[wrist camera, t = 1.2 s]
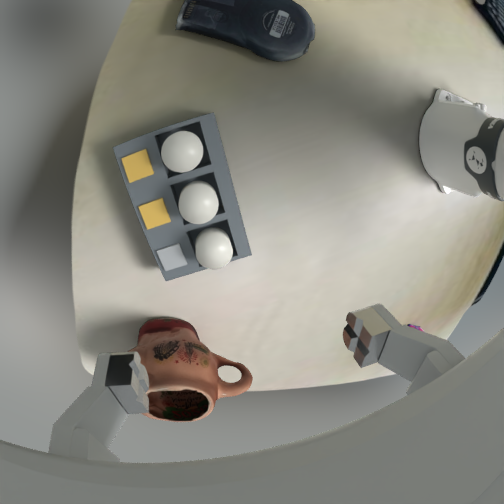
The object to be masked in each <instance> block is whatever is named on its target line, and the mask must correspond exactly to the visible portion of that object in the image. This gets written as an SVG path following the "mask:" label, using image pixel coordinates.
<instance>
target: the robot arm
mask: <svg viewBox="0 0 504 504" xmlns="http://www.w3.org/2000/svg"><path fill="white" fill-rule="evenodd" d="M419 146H420V154H421V159H422V162H423V165H424V167H425V169H426V171H427V173H428V174H429V175H430V176H431V177H432V178H433V179H434V180H435V181H437V183H438V185H439V187H440V189H441V191H442V192H443V193H446V194H449V193H450V192H452V191H453V190H456V191H459V192H462V193H465V194H467V195H470V196H473V197H478V196H479V195H481V194H482V193H484V194H486V195H489V196H490V197H491V198H494V199H497V200H500V201H504V119H500V118H494V117H492V116H490V115H489V114H488V113H486V105H484V104H481V103H471V102H469V101H467V100H465V99H463V98H461V97H459V96H457V95H454V94H452V93H450V92H448V91H445V90H442V89H438V90H437V91H436V94H435V97H434V101H433V103H432V105H431V106H430V107H429V108H428V110H427V111H426V113H425V115H424V117H423V120H422V123H421V127H420V135H419ZM346 321H347V323H348V324H347V325H346V327H345V328H344V331H343V339H344V343H345V345H346V347H347V348H348V350H351V351H353V352H354V356H353V357H354V358H355V360H356V361H357V363H358V364H359V366H360V367H361V368H362V367H365V366H368V365H371V364H373V363H376V362H378V363H379V364H381V365H382V366H384V367H386V368H388V369H389V370H391V371H393V372H395V373H396V374H398V375H400V376H402V377H404V378H405V379H407V380H409V381H411V384H410V386H409V387H408V389H407V392H406V393H407V394H408V395H407V396H405V397H404V398H402V399H400V400H398V401H396V402H394V403H392V404H390V405H388V406H386V407H384V408H382V409H380V410H378V411H375V412H373V413H372V414H369V415H366V416H364V417H362V418H360V419H357V420H355V421H352V422H350V423H348V424H345V425H343V426H340V427H337V428H334V429H332V430H329V431H326V432H323V433H320V434H317V435H314V436H311V437H308V438H305V439H302V440H298V441H295V442H291V443H288V444H284V445H280V446H276V447H272V448H268V449H264V450H259V451H254V452H249V453H244V454H239V455H233V456H227V457H221V458H213V459H205V460H196V461H184V462H168V463H124V462H120V461H119V458H118V457H117V456H116V455H115V454H113V453H112V452H111V451H110V450H109V449H108V448H109V446H110V444H111V442H112V441H113V439H114V438H115V436H116V434H117V433H118V431H119V430H120V428H121V426H122V425H123V423H124V421H125V420H126V418H127V417H128V414H139V413H149V398H148V396H147V394H146V392H147V391H148V390H149V379H148V374H147V371H146V368H145V366H144V365H142V364H141V363H140V361H141V358H140V356H139V354H138V352H136V351H135V352H115V353H100V354H99V355H98V358H97V362H96V367H95V371H94V376H93V381H92V386H91V387H87V389H86V390H84V392H83V393H82V394H81V395H80V396H79V397H78V398H77V399H76V400H75V401H74V402H73V403H72V405H71V406H70V407H69V408H68V409H67V410H66V411H65V412H64V413H63V414H62V415H61V417H60V418H59V419H58V420H57V421H56V422H55V423H54V424H53V429H52V434H51V440H50V446H49V452H48V453H46V452H42V451H38V450H33V449H30V448H26V447H22V446H19V445H15V444H12V443H9V442H6V441H3V440H0V504H504V328H503V329H501V330H500V331H499V332H498V333H497V334H496V335H495V336H494V337H492V338H491V339H490V340H489V341H488V342H487V343H485V344H484V345H483V346H481V347H480V348H479V349H478V350H476V351H475V352H474V353H472V354H471V355H470V356H468V357H467V358H466V359H465V358H464V357H463V355H462V354H461V353H460V352H459V351H458V350H457V349H456V348H455V347H454V346H453V345H452V344H451V343H450V342H449V341H447V340H445V339H442V338H439V337H436V336H434V335H431V334H428V333H426V332H423V331H420V330H418V329H415V328H412V327H409V326H407V325H403V326H402V325H401V324H400V323H399V322H398V321H397V320H396V319H395V318H394V317H393V315H392V314H391V313H390V312H389V311H388V310H387V309H386V308H385V307H384V306H383V305H382V304H376V305H372V306H369V307H366V308H363V309H359V310H356V311H352V312H349V313H348V315H347V317H346Z"/></svg>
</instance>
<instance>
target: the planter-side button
mask: <svg viewBox="0 0 504 504" xmlns="http://www.w3.org/2000/svg"><path fill="white" fill-rule="evenodd" d="M195 248H196V258H197V260H198V262H199V263H200V264H201V265H202V266H203V267H205V268H208V269H219V268H222V267H224V266H225V265H227V264H228V263H229V262H230V260H231V258H232V255H233V249H232V246H231V242H230V239H229V236H228V235H227V233H226V232H225V231H224V230H222V229H220V228H217V227H210V228H206V229H204V230H202V231H201V232H200V233H199V234H198V236H197V238H196V242H195Z"/></svg>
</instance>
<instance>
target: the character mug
mask: <svg viewBox="0 0 504 504" xmlns="http://www.w3.org/2000/svg"><path fill="white" fill-rule="evenodd" d="M135 351H136V352H138V354H139V356H140V358H141V361H140V363H141V364H142V365H144V366H145V368H146V371H147V374H148V379H149V390H148V391H147V392H146V394H147V396H148V398H149V413H141V414H143V415H145V416H147V417H149V418H152V419H158V420H165V421H173V422H191V421H196V420H200V419H202V418H204V417H206V416H207V415H209V414H210V413H211V412H212V410H213V408H214V406H215V401H216V400H217V399H219V398H222V397H230V396H236V395H239V394H241V393H243V392H245V391H247V390H248V389H249V388H250V386H251V383H252V375H251V373H250V371H249V370H248V369H247V368H246V367H245V366H244V365H243V364H241V363H238V362H237V363H236V362H233V361H230V360H227V359H226V358H223V357H221V356H219V355H216V354H214V353H212V352H211V351H210V350H209V349H208V348H207V347H206V346H205V345H204V344H203V343H201V342H200V340H199V337H198V335H197V332H196V330H195V328H194V327H193V326H192V325H191V324H190V323H188V322H186V321H184V320H180V319H174V318H162V319H152V320H149V321H147V322H146V323H145V324H144V325H143V326H142V327H141V328H140V331H139V336H138V344H137V346H136V347H135V348H133V349H131V350H129V351H128V352H135ZM224 365H228V366H234V367H236V368H237V369H239V370H240V371H241V373H242V377H241V379H240V380H239V381H238V382H235V383H228V382H225V381H223V380H221V378H220V377H219V376H218V370H217V369H218V368H219V367H221V366H224Z"/></svg>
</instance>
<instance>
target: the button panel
mask: <svg viewBox="0 0 504 504" xmlns="http://www.w3.org/2000/svg"><path fill="white" fill-rule="evenodd" d="M179 131H189V132H192V133H194V134H195V135H197V136H198V138H199V139H200V141H201V143H202V146H203V156H202V159H201V161H200V163H199V164H198V165H197V166H196V167H195V168H194V169H192V170H191V171H188V172H183V173H180V172H175V171H172V170H170V169H169V168H168V167H167V166H166V165H165V164H164V162H163V160H162V157H161V149H162V146H163V143H164V142H165V140H166V139H167V138H168V137H169V136H170V135H172V134H174V133H176V132H179ZM113 150H114V153H115V156H116V159H117V162H118V165H119V168H120V171H121V174H122V176H123V179H124V182H125V185H126V188H127V190H128V193H129V196H130V198H131V201H132V204H133V206H134V209H135V211H136V214H137V217H138V219H139V221H140V224H141V226H142V229H143V231H144V234H145V236H146V238H147V241H148V243H149V245H150V248H151V250H152V252H153V255H154V257H155V259H156V261H157V264H158V266H159V268H160V270H161V272H162V274H163V277H164V279H165V281H169V280H172V279H175V278H178V277H182V276H185V275H188V274H192V273H195V272H198V271H201V270H205V269H208V268H205V267H203V266H202V265H201V264H200V263H199V262H198V260H197V258H196V248H195V242H196V238H197V236H198V234H199V233H200V232H201V231H202V230H204V229H206V228H210V227H217V228H220V229H222V230H224V231H225V232H226V233H227V235H228V236H229V239H230V242H231V246H232V249H233V255H232V258H231V260H230V262H231V261H234V260H237V259H240V258H244V257H247V256H250V255H252V254H251V250H250V247H249V243H248V239H247V235H246V232H245V228H244V224H243V220H242V217H241V213H240V209H239V205H238V202H237V198H236V194H235V190H234V186H233V183H232V179H231V175H230V171H229V168H228V164H227V160H226V156H225V153H224V149H223V145H222V141H221V138H220V134H219V130H218V126H217V123H216V119H215V115H214V113H210V114H206V115H203V116H199V117H196V118H192V119H189V120H186V121H182V122H179V123H176V124H173V125H170V126H167V127H164V128H161V129H158V130H156V131H153V132H150V133H147V134H145V135H142V136H139V137H137V138H134V139H132V140H129V141H127V142H124V143H122V144H120V145H117V146H115V147H113ZM193 181H204V182H207V183H209V184H210V185H211V186H212V187H213V188H214V190H215V192H216V195H217V198H218V203H219V206H218V211H217V213H216V215H215V216H214V217H213V218H212V219H211V220H210V221H208V222H206V223H203V224H193V223H190V222H188V221H186V220H185V219H184V218H183V217H182V215H181V214H180V211H179V198H180V194H181V191H182V189H183V188H184V187H185V186H186V185H187V184H188V183H190V182H193Z"/></svg>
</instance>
